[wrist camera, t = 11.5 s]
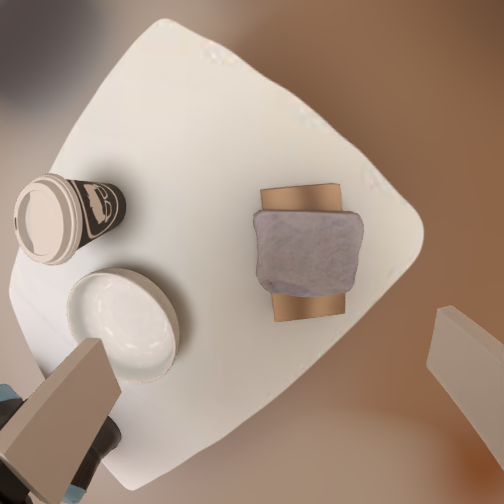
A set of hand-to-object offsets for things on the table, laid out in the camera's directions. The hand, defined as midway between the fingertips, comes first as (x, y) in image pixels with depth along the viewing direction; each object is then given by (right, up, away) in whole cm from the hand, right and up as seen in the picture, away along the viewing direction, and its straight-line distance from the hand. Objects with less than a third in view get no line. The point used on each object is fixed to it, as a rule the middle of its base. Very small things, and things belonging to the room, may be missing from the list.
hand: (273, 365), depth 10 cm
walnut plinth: (+6, +4, +27) cm, 28 cm away
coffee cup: (-21, +10, +27) cm, 36 cm away
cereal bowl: (-18, -5, +30) cm, 36 cm away
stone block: (+5, +4, +23) cm, 24 cm away
